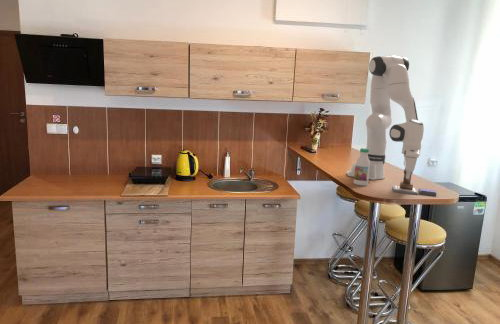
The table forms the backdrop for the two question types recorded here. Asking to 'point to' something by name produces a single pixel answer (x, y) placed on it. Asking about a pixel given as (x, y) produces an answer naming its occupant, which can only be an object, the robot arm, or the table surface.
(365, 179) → the milk bottle
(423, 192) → the ink pad
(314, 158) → the table surface
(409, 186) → the stamp
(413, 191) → the board
